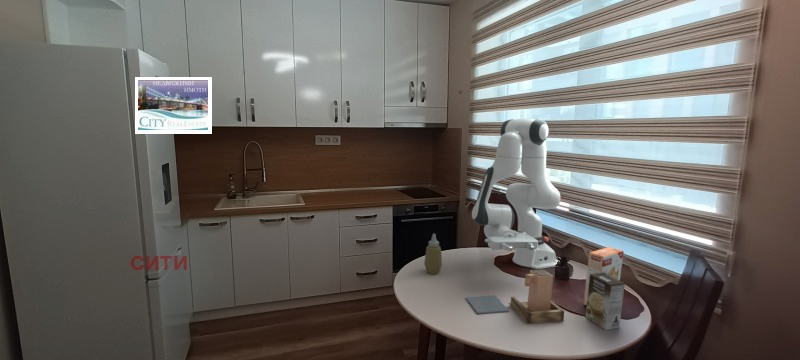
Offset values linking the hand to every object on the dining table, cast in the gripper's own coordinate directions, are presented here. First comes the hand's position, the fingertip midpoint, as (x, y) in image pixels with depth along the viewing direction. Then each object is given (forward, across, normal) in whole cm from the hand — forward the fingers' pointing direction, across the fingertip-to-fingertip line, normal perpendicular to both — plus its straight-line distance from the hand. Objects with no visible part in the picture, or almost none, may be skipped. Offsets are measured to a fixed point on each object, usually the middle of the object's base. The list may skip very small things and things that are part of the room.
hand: (521, 249), depth 143 cm
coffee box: (+24, +19, +19) cm, 36 cm away
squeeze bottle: (-26, -28, +19) cm, 43 cm away
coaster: (+7, -16, +19) cm, 26 cm away
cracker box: (+12, +28, +18) cm, 35 cm away
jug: (+13, 0, +19) cm, 23 cm away
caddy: (+13, 0, +19) cm, 23 cm away
